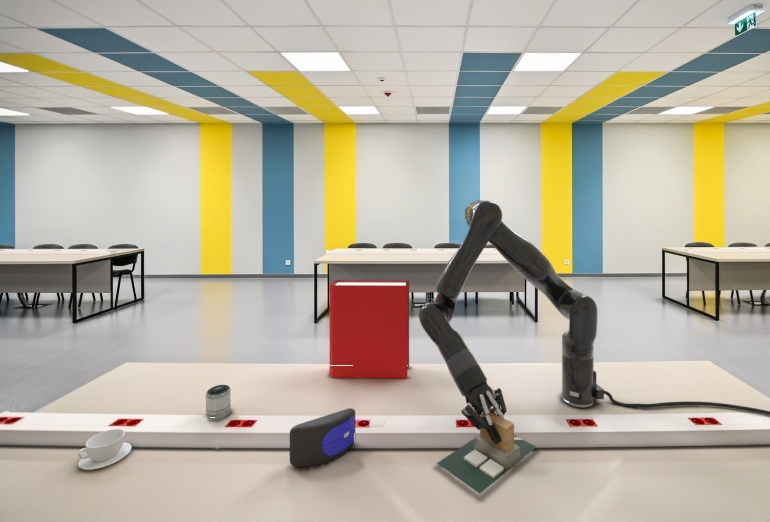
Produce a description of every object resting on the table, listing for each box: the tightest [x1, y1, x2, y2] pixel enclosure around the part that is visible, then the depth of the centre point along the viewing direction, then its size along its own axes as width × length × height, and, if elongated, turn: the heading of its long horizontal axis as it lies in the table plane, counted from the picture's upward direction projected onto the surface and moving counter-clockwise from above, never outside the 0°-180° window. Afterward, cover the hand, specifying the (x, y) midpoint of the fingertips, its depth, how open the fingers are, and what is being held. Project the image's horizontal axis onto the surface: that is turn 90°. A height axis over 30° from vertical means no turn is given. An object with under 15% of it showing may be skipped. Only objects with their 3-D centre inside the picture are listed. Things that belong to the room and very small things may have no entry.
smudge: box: [480, 459, 504, 478], centre depth 91 cm, size 4×4×1 cm
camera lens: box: [205, 384, 232, 422], centre depth 115 cm, size 6×6×8 cm
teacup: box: [77, 428, 132, 470], centre depth 97 cm, size 10×10×5 cm
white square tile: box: [464, 450, 488, 468], centre depth 95 cm, size 4×4×1 cm
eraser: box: [473, 412, 521, 470], centre depth 97 cm, size 10×5×8 cm, turn 44°
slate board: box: [436, 439, 537, 495], centre depth 97 cm, size 22×13×1 cm, turn 134°
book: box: [328, 279, 410, 379], centre depth 142 cm, size 27×8×32 cm, turn 89°
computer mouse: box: [289, 407, 356, 468], centre depth 97 cm, size 16×5×9 cm, turn 123°
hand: (503, 439), depth 95 cm, fingers closed on eraser, 3 cm apart
